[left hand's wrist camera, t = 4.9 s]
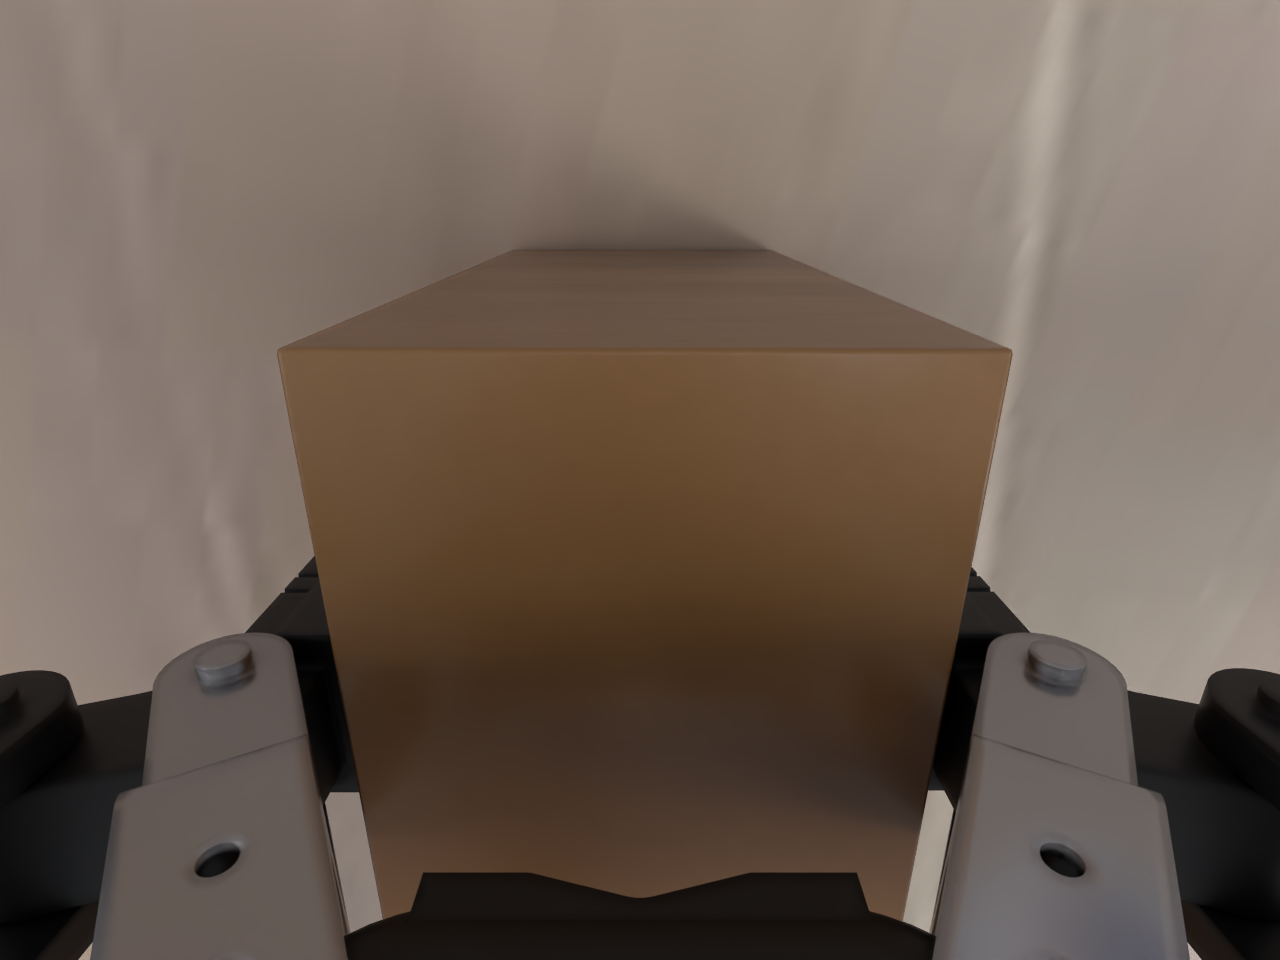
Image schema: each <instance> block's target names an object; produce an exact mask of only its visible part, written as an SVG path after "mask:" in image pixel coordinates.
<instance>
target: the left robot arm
mask: <svg viewBox="0 0 1280 960" xmlns="http://www.w3.org/2000/svg"><path fill="white" fill-rule="evenodd" d="M928 790H944V791H945V793H946V795H947V797H948V798H949V800H950V802H951V804H952V806H953V808H954V810H953V815H952V820H951V824H950V829H949V834H948V840H947V845H946V850H945V855H944V860H943V866H942V871H941V876H940V881H939V886H938V891H937V897H936V902H935V907H934V912H933V917H932V923H931V928H930V933H928V932H926V931H924V930H922V929H919V928H917V927H915V926H913V925H911V924H908V923H905V922H902V921H900V920H897V919H894V918H891V917H888V916H885V915H882V914H879V913H875V912H871V911H869V909H868V906H867V902H866V899H865V896H864V893H863V890H862V887H861V884H860V881H859V878H858V874H857V872H750V873H746V874H742V875H738V876H734V877H730V878H726V879H721V880H717V881H713V882H709V883H705V884H701V885H697V886H693V887H689V888H685V889H681V890H677V891H672V892H668V893H664V894H660V895H656V896H652V897H646V898H634V897H628V896H624V895H620V894H616V893H612V892H608V891H603V890H599V889H595V888H591V887H587V886H583V885H579V884H575V883H571V882H567V881H563V880H559V879H554V878H550V877H546V876H542V875H538V874H534V873H530V872H423V874H422V878H421V881H420V884H419V887H418V890H417V893H416V896H415V899H414V902H413V906H412V909H411V911H409V912H405V913H401V914H398V915H395V916H392V917H389V918H386V919H383V920H380V921H378V922H375V923H372V924H369V925H367V926H365V927H363V928H361V929H358V930H356V931H354V932H352V933H350V928H349V923H348V917H347V912H346V907H345V902H344V897H343V891H342V886H341V881H340V876H339V871H338V866H337V860H336V855H335V850H334V845H333V840H332V834H331V829H330V824H329V820H328V815H327V810H326V805H325V801H326V799H327V797H328V795H329V793H330V792H359V788H358V783H357V778H356V772H355V767H354V762H353V756H352V751H351V746H350V740H349V735H348V730H347V724H346V719H345V714H344V708H343V703H342V698H341V692H340V687H339V682H338V676H337V671H336V666H335V660H334V655H333V650H332V644H331V639H330V634H329V628H328V623H327V618H326V612H325V607H324V602H323V596H322V591H321V586H320V580H319V575H318V570H317V564H316V559H315V556H314V557H313V558H312V560H311V561H310V562H309V563H308V564H307V565H306V566H305V567H304V568H303V569H302V571H301V572H300V573H299V577H295V578H294V579H293V580H292V582H291V583H290V584H289V585H288V586H287V587H286V588H285V593H281V594H280V595H279V596H278V597H277V598H276V599H275V600H274V601H273V603H272V604H271V605H270V606H269V607H268V608H267V609H266V610H265V611H264V612H263V614H262V615H261V616H260V617H259V618H258V619H257V620H256V621H255V622H254V624H253V625H252V626H251V627H250V628H249V629H248V630H247V631H246V632H245V633H242V634H235V635H230V636H225V637H221V638H218V639H214V640H211V641H209V642H206V643H203V644H201V645H198V646H196V647H194V648H192V649H190V650H188V651H186V652H184V653H183V654H181V655H179V656H178V657H176V658H175V659H174V660H172V661H171V662H170V663H169V664H167V665H166V666H165V667H164V668H163V669H162V670H161V672H160V673H159V674H158V676H157V677H156V679H155V682H154V685H153V691H150V692H145V693H141V694H136V695H130V696H125V697H120V698H115V699H109V700H104V701H99V702H94V703H88V704H83V705H77V703H76V700H75V697H74V694H73V691H72V689H71V686H70V683H69V681H68V680H67V678H66V677H65V676H63V675H61V674H59V673H56V672H52V671H23V672H17V673H11V674H6V675H2V676H0V960H78V959H79V958H80V957H81V955H82V954H83V953H84V952H85V951H86V949H87V948H88V947H89V946H90V944H91V943H92V942H93V944H92V951H91V957H90V960H1190V957H1189V951H1188V944H1187V942H1188V943H1189V944H1190V946H1191V947H1192V948H1193V949H1194V951H1195V952H1196V953H1197V954H1198V955H1199V957H1200V958H1201V959H1202V960H1280V674H1276V673H1271V672H1267V671H1261V670H1255V669H1244V668H1233V669H1224V670H1221V671H1218V672H1216V673H1214V674H1212V675H1211V676H1210V678H1209V679H1208V681H1207V684H1206V687H1205V690H1204V693H1203V695H1202V698H1201V701H1200V704H1194V703H1189V702H1184V701H1179V700H1173V699H1168V698H1163V697H1157V696H1152V695H1147V694H1142V693H1136V692H1132V691H1127V685H1126V682H1125V679H1124V677H1123V676H1122V674H1121V673H1120V672H1119V670H1118V669H1117V668H1116V667H1115V666H1114V665H1113V664H1111V663H1110V662H1109V661H1108V660H1106V659H1105V658H1104V657H1102V656H1101V655H1099V654H1097V653H1096V652H1094V651H1092V650H1090V649H1088V648H1086V647H1084V646H1082V645H1079V644H1077V643H1074V642H1071V641H1069V640H1066V639H1062V638H1059V637H1055V636H1050V635H1045V634H1038V633H1030V632H1029V631H1028V630H1027V628H1026V627H1025V626H1024V625H1023V624H1022V623H1021V622H1020V621H1019V619H1018V618H1017V617H1016V616H1015V615H1014V614H1013V613H1012V612H1011V611H1010V609H1009V608H1008V607H1007V606H1006V605H1005V604H1004V603H1003V602H1002V600H1001V599H1000V598H999V597H998V596H997V595H996V594H995V593H994V592H990V587H989V586H988V585H987V584H986V583H985V581H984V580H983V579H982V578H981V577H980V576H977V573H976V571H975V570H974V569H973V568H972V567H971V571H970V576H969V581H968V587H967V592H966V597H965V602H964V607H963V612H962V617H961V623H960V628H959V633H958V638H957V643H956V648H955V654H954V659H953V664H952V669H951V674H950V679H949V685H948V690H947V695H946V700H945V705H944V710H943V715H942V721H941V726H940V731H939V736H938V741H937V746H936V752H935V757H934V762H933V767H932V772H931V777H930V783H929V788H928Z"/></svg>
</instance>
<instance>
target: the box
mask: <svg viewBox="0 0 1280 960" xmlns="http://www.w3.org/2000/svg"><path fill="white" fill-rule="evenodd" d="M277 356H278V362H279V367H280V372H281V378H282V383H283V388H284V394H285V399H286V404H287V410H288V415H289V420H290V426H291V431H292V436H293V442H294V447H295V452H296V458H297V463H298V468H299V474H300V479H301V484H302V490H303V495H304V500H305V506H306V511H307V516H308V522H309V527H310V532H311V538H312V543H313V548H314V554H315V559H316V564H317V570H318V575H319V580H320V586H321V591H322V596H323V602H324V607H325V612H326V618H327V623H328V628H329V634H330V639H331V644H332V650H333V655H334V660H335V666H336V671H337V676H338V682H339V687H340V692H341V698H342V703H343V708H344V714H345V719H346V724H347V730H348V735H349V740H350V746H351V751H352V756H353V762H354V767H355V772H356V778H357V783H358V788H359V794H360V799H361V804H362V810H363V815H364V820H365V826H366V831H367V836H368V842H369V847H370V852H371V858H372V863H373V869H374V874H375V879H376V885H377V890H378V895H379V901H380V906H381V911H382V917H383V919H386V918H389V917H392V916H395V915H398V914H401V913H405V912H409V911H411V909H412V906H413V902H414V899H415V896H416V893H417V890H418V887H419V884H420V881H421V878H422V874H423V872H530V873H534V874H538V875H542V876H546V877H550V878H554V879H559V880H563V881H567V882H571V883H575V884H579V885H583V886H587V887H591V888H595V889H599V890H603V891H608V892H612V893H616V894H620V895H624V896H628V897H634V898H646V897H652V896H656V895H660V894H664V893H668V892H672V891H677V890H681V889H685V888H689V887H693V886H697V885H701V884H705V883H709V882H713V881H717V880H721V879H726V878H730V877H734V876H738V875H742V874H746V873H750V872H857V874H858V878H859V881H860V884H861V887H862V890H863V893H864V896H865V899H866V902H867V906H868V909H869V911H871V912H875V913H879V914H882V915H885V916H888V917H891V918H894V919H897V920H900V921H902V922H903V917H904V912H905V906H906V901H907V896H908V891H909V886H910V881H911V875H912V870H913V865H914V860H915V855H916V850H917V844H918V839H919V834H920V829H921V824H922V819H923V814H924V808H925V803H926V798H927V793H928V788H929V783H930V777H931V772H932V767H933V762H934V757H935V752H936V746H937V741H938V736H939V731H940V726H941V721H942V715H943V710H944V705H945V700H946V695H947V690H948V685H949V679H950V674H951V669H952V664H953V659H954V654H955V648H956V643H957V638H958V633H959V628H960V623H961V617H962V612H963V607H964V602H965V597H966V592H967V587H968V581H969V576H970V571H971V566H972V561H973V556H974V550H975V545H976V540H977V535H978V530H979V525H980V519H981V514H982V509H983V504H984V499H985V494H986V488H987V483H988V478H989V473H990V468H991V463H992V458H993V452H994V447H995V442H996V437H997V432H998V427H999V421H1000V416H1001V411H1002V406H1003V401H1004V396H1005V390H1006V385H1007V380H1008V375H1009V370H1010V365H1011V359H1012V350H1011V349H1008V348H1006V347H1004V346H1001V345H999V344H996V343H994V342H992V341H989V340H987V339H984V338H982V337H980V336H977V335H975V334H972V333H970V332H967V331H965V330H963V329H960V328H958V327H955V326H953V325H951V324H948V323H946V322H943V321H941V320H938V319H936V318H934V317H931V316H929V315H926V314H924V313H921V312H919V311H917V310H914V309H912V308H909V307H907V306H905V305H902V304H900V303H897V302H895V301H892V300H890V299H888V298H885V297H883V296H880V295H878V294H876V293H873V292H871V291H868V290H866V289H863V288H861V287H859V286H856V285H854V284H851V283H849V282H847V281H844V280H842V279H839V278H837V277H834V276H832V275H830V274H827V273H825V272H822V271H820V270H817V269H815V268H813V267H810V266H808V265H805V264H803V263H801V262H798V261H796V260H793V259H791V258H788V257H786V256H784V255H781V254H779V253H776V252H774V251H672V250H512V251H510V252H508V253H505V254H503V255H501V256H498V257H496V258H493V259H491V260H489V261H486V262H484V263H482V264H479V265H477V266H474V267H472V268H470V269H467V270H465V271H462V272H460V273H458V274H455V275H453V276H451V277H448V278H446V279H443V280H441V281H439V282H436V283H434V284H432V285H429V286H427V287H424V288H422V289H420V290H417V291H415V292H413V293H410V294H408V295H405V296H403V297H401V298H398V299H396V300H394V301H391V302H389V303H386V304H384V305H382V306H379V307H377V308H374V309H372V310H370V311H367V312H365V313H363V314H360V315H358V316H355V317H353V318H351V319H348V320H346V321H344V322H341V323H339V324H336V325H334V326H332V327H329V328H327V329H325V330H322V331H320V332H317V333H315V334H313V335H310V336H308V337H306V338H303V339H301V340H298V341H296V342H294V343H291V344H289V345H286V346H284V347H282V348H280V349H278V351H277Z"/></svg>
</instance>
